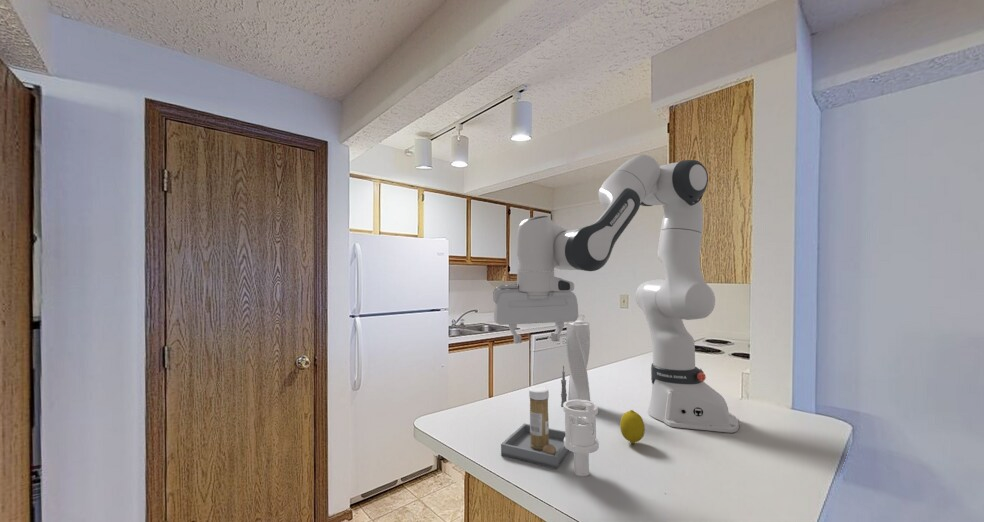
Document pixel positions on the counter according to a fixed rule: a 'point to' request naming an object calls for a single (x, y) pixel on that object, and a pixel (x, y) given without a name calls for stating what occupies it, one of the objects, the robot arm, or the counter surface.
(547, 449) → the wooden ball
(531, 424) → the sprinkles bottle
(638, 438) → the lemon
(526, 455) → the tray
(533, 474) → the counter surface
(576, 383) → the skyscraper
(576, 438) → the white hollow mechanical part
